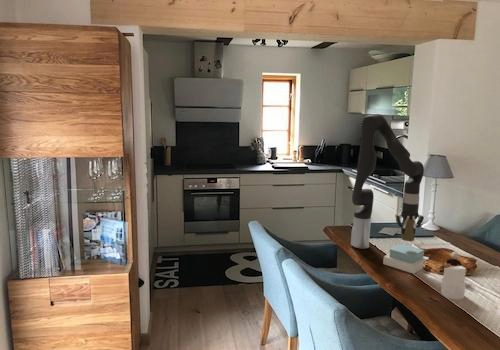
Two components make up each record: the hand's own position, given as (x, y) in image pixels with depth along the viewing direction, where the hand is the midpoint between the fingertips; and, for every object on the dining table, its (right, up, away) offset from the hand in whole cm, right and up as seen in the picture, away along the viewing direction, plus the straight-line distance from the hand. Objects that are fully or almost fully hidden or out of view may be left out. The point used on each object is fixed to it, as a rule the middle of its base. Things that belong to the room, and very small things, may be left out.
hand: (407, 234), depth 203 cm
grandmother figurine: (+16, -19, -12) cm, 27 cm away
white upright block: (+8, -22, -29) cm, 37 cm away
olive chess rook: (0, -2, 0) cm, 2 cm away
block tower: (0, -15, +3) cm, 16 cm away
